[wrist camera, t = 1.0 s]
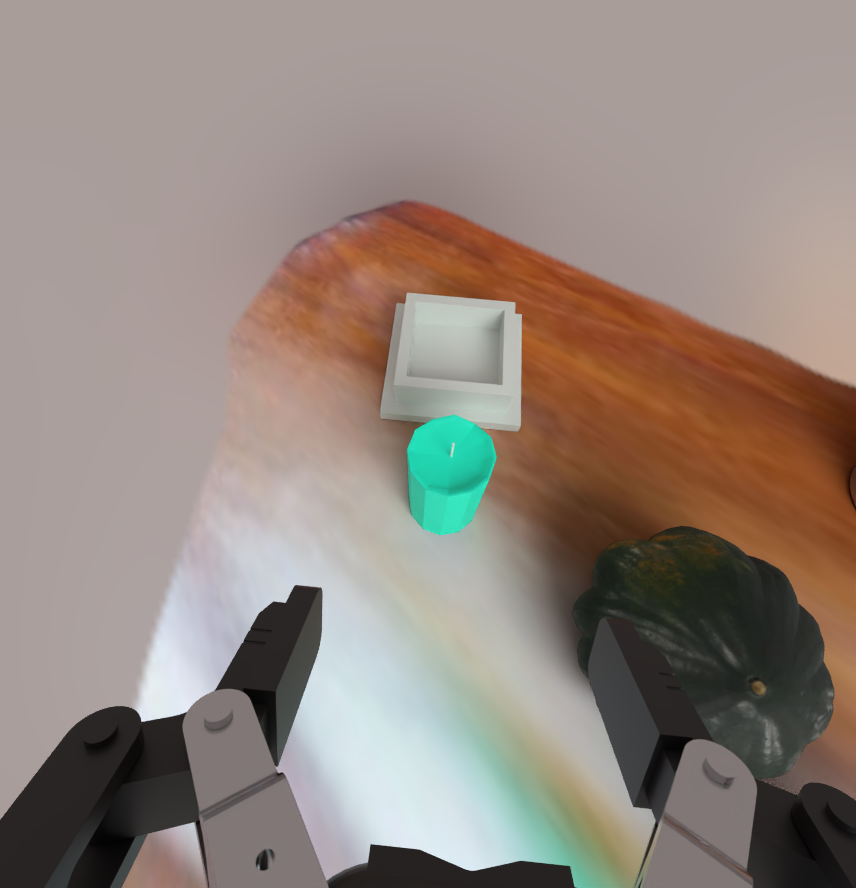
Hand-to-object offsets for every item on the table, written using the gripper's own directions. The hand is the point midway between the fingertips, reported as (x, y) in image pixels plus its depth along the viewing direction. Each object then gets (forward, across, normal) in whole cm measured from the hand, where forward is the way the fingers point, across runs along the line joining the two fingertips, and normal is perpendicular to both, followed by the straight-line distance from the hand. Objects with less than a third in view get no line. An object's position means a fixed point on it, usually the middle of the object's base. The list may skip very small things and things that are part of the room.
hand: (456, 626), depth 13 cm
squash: (+18, -17, +16) cm, 30 cm away
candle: (+26, 0, +9) cm, 27 cm away
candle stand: (+35, 0, -1) cm, 35 cm away
